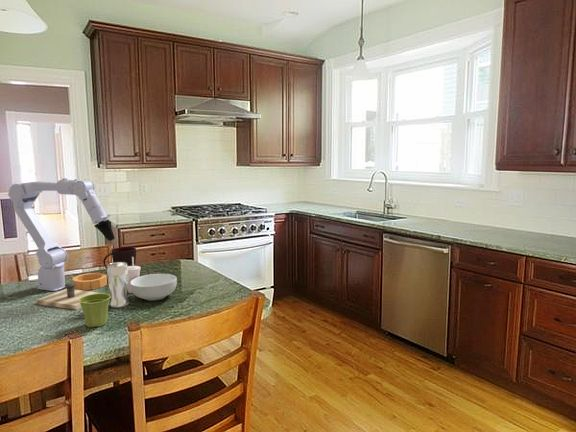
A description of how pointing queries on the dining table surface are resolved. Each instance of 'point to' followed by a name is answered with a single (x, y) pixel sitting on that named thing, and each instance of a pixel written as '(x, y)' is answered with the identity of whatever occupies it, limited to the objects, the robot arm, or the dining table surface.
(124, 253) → the cup
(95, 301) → the plant pot
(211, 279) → the dining table surface
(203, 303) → the dining table surface
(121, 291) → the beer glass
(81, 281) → the faceted orange ring
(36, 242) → the robot arm
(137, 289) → the cereal bowl
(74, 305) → the peg board
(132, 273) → the smoothie
